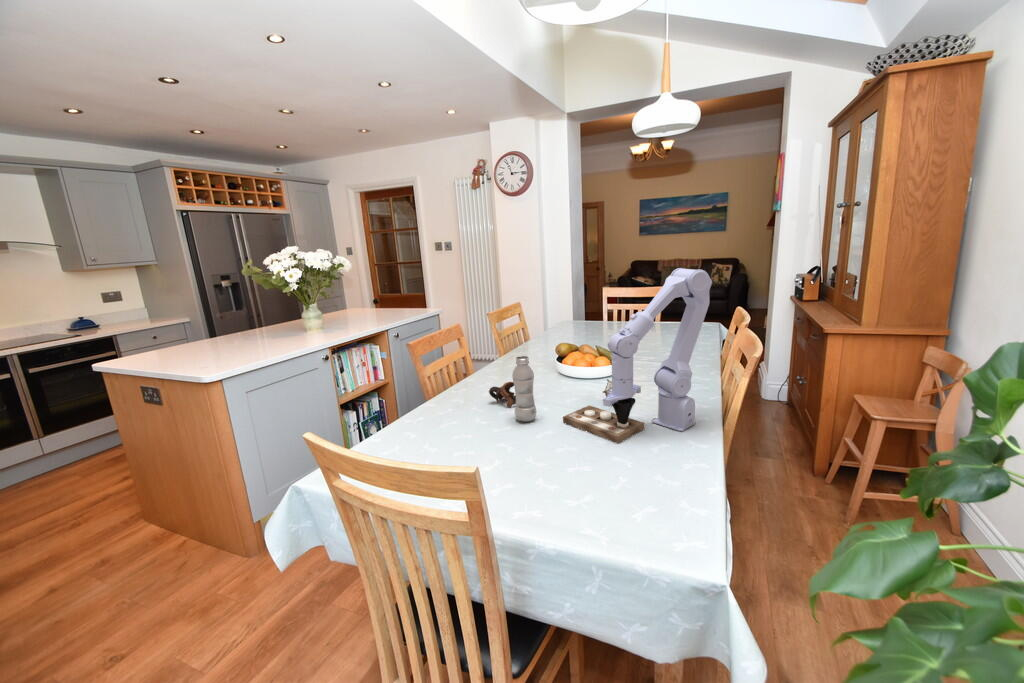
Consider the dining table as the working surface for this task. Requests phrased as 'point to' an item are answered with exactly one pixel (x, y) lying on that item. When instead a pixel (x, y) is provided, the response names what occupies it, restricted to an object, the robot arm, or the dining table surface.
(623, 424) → the button
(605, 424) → the button board
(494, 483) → the dining table surface
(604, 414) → the button middle
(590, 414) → the button
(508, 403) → the dark brown twisted loops
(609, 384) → the game die
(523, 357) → the plastic bottle
